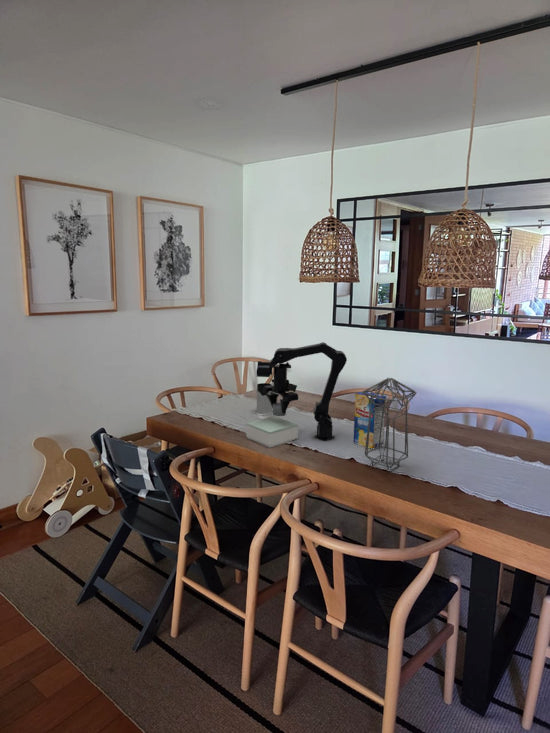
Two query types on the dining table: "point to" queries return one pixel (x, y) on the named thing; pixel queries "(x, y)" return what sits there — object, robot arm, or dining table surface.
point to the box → (271, 436)
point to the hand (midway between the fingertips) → (279, 411)
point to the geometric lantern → (380, 386)
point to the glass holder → (263, 401)
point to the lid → (271, 424)
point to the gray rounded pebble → (277, 409)
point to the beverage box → (363, 419)
